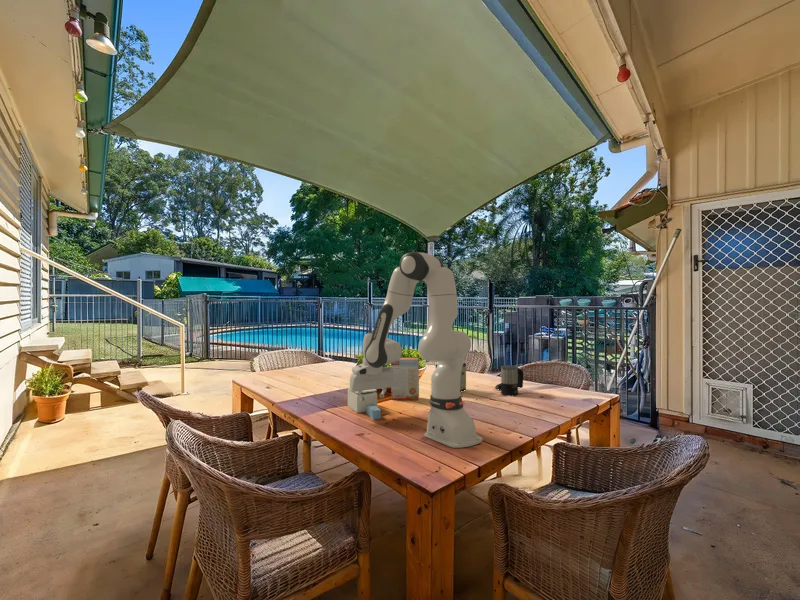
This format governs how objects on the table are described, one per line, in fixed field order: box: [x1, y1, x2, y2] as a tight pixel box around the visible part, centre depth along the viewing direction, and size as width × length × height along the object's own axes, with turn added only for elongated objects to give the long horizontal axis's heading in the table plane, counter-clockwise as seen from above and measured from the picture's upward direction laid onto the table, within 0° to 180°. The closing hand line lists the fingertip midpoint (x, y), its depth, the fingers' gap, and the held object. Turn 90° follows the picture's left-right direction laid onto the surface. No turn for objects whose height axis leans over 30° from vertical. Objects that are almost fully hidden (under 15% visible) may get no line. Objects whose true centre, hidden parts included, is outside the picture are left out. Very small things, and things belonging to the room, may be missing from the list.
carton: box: [347, 389, 378, 414], centre depth 178 cm, size 12×10×8 cm
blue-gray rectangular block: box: [365, 404, 382, 420], centre depth 167 cm, size 10×4×4 cm, turn 23°
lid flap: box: [347, 387, 378, 394], centre depth 178 cm, size 12×10×1 cm
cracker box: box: [390, 357, 420, 401], centre depth 195 cm, size 14×6×21 cm, turn 84°
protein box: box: [435, 362, 467, 393], centre depth 208 cm, size 10×16×16 cm
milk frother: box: [495, 364, 524, 397], centre depth 207 cm, size 14×16×15 cm
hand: (372, 399), depth 167 cm, fingers open, 8 cm apart
